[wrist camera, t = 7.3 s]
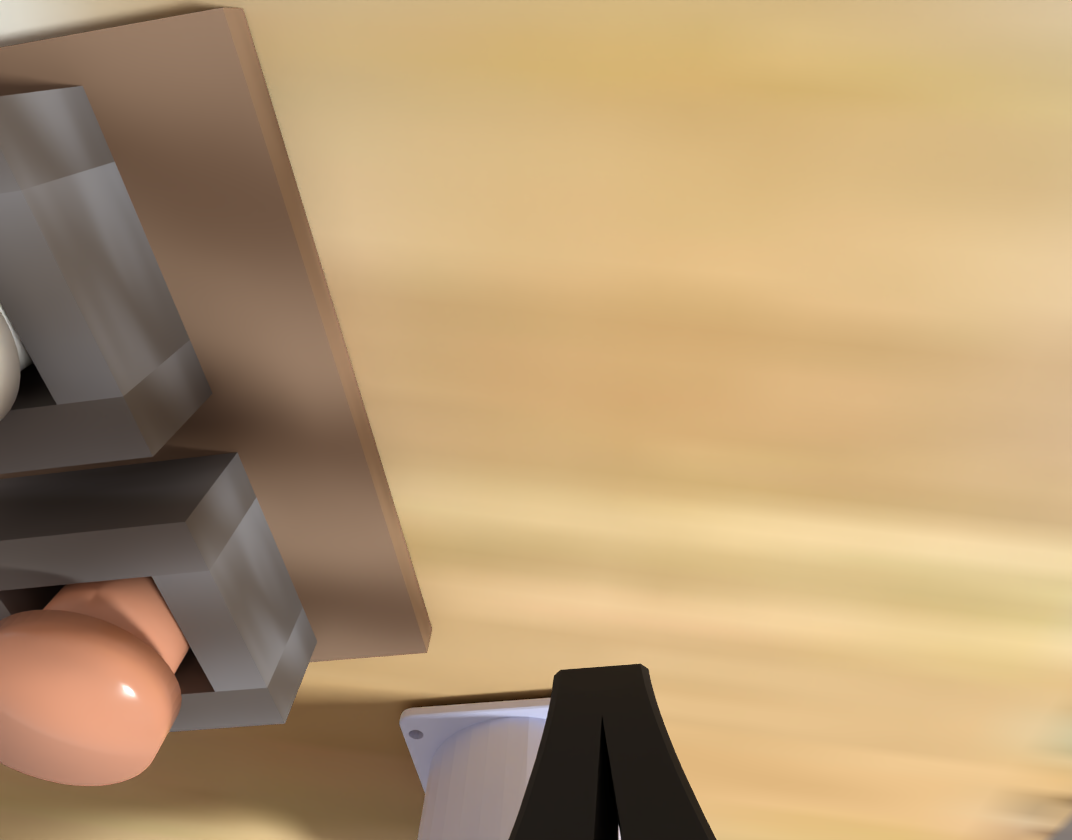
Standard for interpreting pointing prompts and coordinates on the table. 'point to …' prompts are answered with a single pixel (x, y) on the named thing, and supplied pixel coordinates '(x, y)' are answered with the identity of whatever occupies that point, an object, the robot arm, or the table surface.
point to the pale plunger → (10, 362)
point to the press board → (185, 369)
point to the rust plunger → (90, 682)
